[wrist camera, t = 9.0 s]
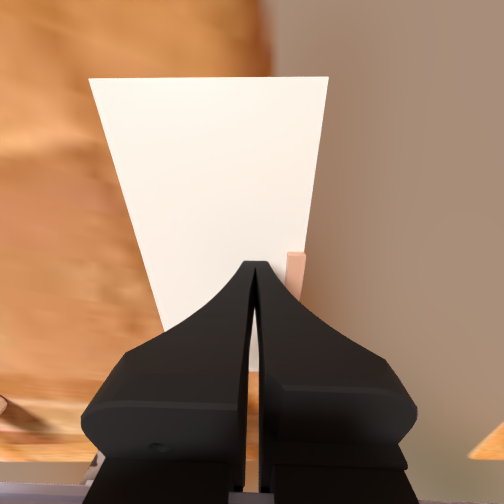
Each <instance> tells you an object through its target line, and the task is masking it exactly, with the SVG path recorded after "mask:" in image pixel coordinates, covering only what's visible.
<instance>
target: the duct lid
mask: <svg viewBox="0 0 504 504" xmlns="http://www.w3.org/2000/svg"><path fill="white" fill-rule="evenodd" d="M328 78H329V77H229V78H94V79H89V82H90V85H91V89H92V92H93V95H94V99H95V102H96V105H97V108H98V112H99V115H100V118H101V122H102V125H103V128H104V132H105V135H106V138H107V142H108V145H109V148H110V152H111V155H112V158H113V162H114V165H115V168H116V172H117V175H118V178H119V182H120V185H121V188H122V191H123V195H124V198H125V201H126V205H127V208H128V211H129V215H130V218H131V221H132V225H133V228H134V231H135V235H136V238H137V241H138V245H139V248H140V251H141V255H142V258H143V261H144V265H145V268H146V271H147V274H148V278H149V281H150V284H151V288H152V291H153V294H154V298H155V301H156V304H157V308H158V311H159V314H160V318H161V321H162V324H163V328H164V331H165V332H166V331H167V330H169V329H171V328H172V327H174V326H176V325H177V324H179V323H180V322H182V321H183V320H185V319H186V318H188V317H189V316H191V315H192V314H193V313H195V312H196V311H197V310H199V309H200V308H201V307H203V306H204V305H205V304H206V303H208V302H209V301H210V300H211V299H212V298H213V297H214V296H215V295H216V294H217V293H218V292H219V291H220V290H221V289H222V288H223V287H224V286H225V285H226V284H227V283H228V281H229V280H230V279H231V278H232V276H233V275H234V274H235V273H236V271H237V270H238V268H239V267H240V265H241V264H242V262H243V261H244V260H245V261H268V262H269V264H270V266H271V268H272V269H273V271H274V272H275V274H276V275H277V277H278V278H279V279H280V281H281V282H282V283H283V285H284V286H285V287H286V288H287V289H288V290H289V292H290V293H291V294H292V295H293V296H294V297H295V298H296V299H297V300H298V301H299V302H300V296H301V290H302V283H303V276H304V270H305V263H306V255H305V253H304V248H305V241H306V234H307V227H308V220H309V213H310V206H311V199H312V192H313V184H314V176H315V170H316V163H317V156H318V149H319V142H320V135H321V128H322V121H323V114H324V106H325V99H326V92H327V85H328ZM249 371H259V351H258V338H257V327H256V316H255V310H254V318H253V326H252V335H251V343H250V352H249Z"/></svg>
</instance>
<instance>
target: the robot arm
mask: <svg viewBox="0 0 504 504" xmlns="http://www.w3.org/2000/svg"><path fill="white" fill-rule="evenodd" d="M254 310H255V316H256V327H257V338H258V351H259V493H250V492H249V493H248V492H243V487H244V486H245V464H246V433H247V403H248V375H249V352H250V343H251V335H252V326H253V318H254ZM416 420H417V406H416V405H415V403H414V402H413V400H412V399H411V397H410V396H409V394H408V392H407V391H406V389H405V387H404V386H403V384H402V383H401V381H400V380H399V378H398V376H397V375H396V374H395V372H394V371H393V370H392V368H391V367H390V366H389V364H388V363H387V361H386V360H385V359H383V358H381V357H380V356H378V355H376V354H374V353H373V352H371V351H369V350H367V349H366V348H364V347H362V346H360V345H359V344H357V343H355V342H353V341H352V340H350V339H349V338H347V337H345V336H344V335H342V334H341V333H339V332H338V331H336V330H335V329H333V328H332V327H330V326H329V325H327V324H326V323H325V322H323V321H322V320H321V319H319V318H318V317H316V316H315V315H314V314H313V313H312V312H310V311H309V310H308V309H307V308H306V307H304V306H303V305H302V304H301V303H300V302H299V301H298V300H297V299H296V298H295V297H294V296H293V295H292V294H291V293H290V292H289V290H288V289H287V288H286V287H285V286H284V285H283V283H282V282H281V281H280V279H279V278H278V277H277V275H276V274H275V272H274V271H273V269H272V268H271V266H270V264H269V262H268V261H245V260H244V261H243V262H242V264H241V265H240V267H239V268H238V270H237V271H236V273H235V274H234V275H233V276H232V278H231V279H230V280H229V281H228V283H227V284H226V285H225V286H224V287H223V288H222V289H221V290H220V291H219V292H218V293H217V294H216V295H215V296H214V297H213V298H212V299H211V300H210V301H209V302H208V303H206V304H205V305H204V306H203V307H201V308H200V309H199V310H197V311H196V312H195V313H193V314H192V315H191V316H189V317H188V318H186V319H185V320H183V321H182V322H180V323H179V324H177V325H176V326H174V327H172V328H171V329H169V330H167V331H166V332H164V333H162V334H160V335H159V336H157V337H155V338H153V339H151V340H149V341H147V342H145V343H144V344H142V345H140V346H138V347H136V348H134V349H132V350H130V351H128V352H126V353H125V354H124V355H123V357H122V358H121V359H120V361H119V362H118V363H117V364H116V366H115V367H114V368H113V370H112V371H111V373H110V374H109V376H108V377H107V379H106V380H105V382H104V383H103V385H102V386H101V388H100V389H99V391H98V392H97V393H96V395H95V396H94V398H93V399H92V401H91V402H90V404H89V405H88V407H87V408H86V410H85V411H84V413H83V414H82V415H81V428H82V430H83V432H84V433H85V435H86V436H87V437H88V439H89V440H90V441H91V442H92V443H93V444H94V445H95V446H96V447H97V448H98V450H99V451H100V452H101V453H102V454H103V455H104V456H105V459H104V461H103V463H102V465H101V467H100V469H99V471H98V473H97V475H96V477H95V479H94V481H93V483H92V485H69V484H48V483H24V482H3V481H0V504H498V503H474V502H453V501H452V502H451V501H430V500H418V499H417V497H416V495H415V493H414V491H413V489H412V487H411V484H410V482H409V480H408V478H407V476H406V474H405V472H404V470H407V468H408V465H407V462H406V460H405V457H404V455H403V453H402V451H401V449H400V447H399V445H398V443H399V442H400V441H401V440H402V439H403V438H404V436H405V435H406V434H407V433H408V432H409V431H410V429H411V428H412V427H413V425H414V423H415V422H416Z"/></svg>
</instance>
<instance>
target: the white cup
mask: <svg viewBox="0 0 504 504" xmlns="http://www.w3.org/2000/svg"><path fill="white" fill-rule="evenodd" d="M7 404H8V403H7V402H6V401H5V399H4V398H2V397H1V396H0V414H1V413H2V412H3V411H4V410H5V409H6V408H7Z"/></svg>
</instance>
